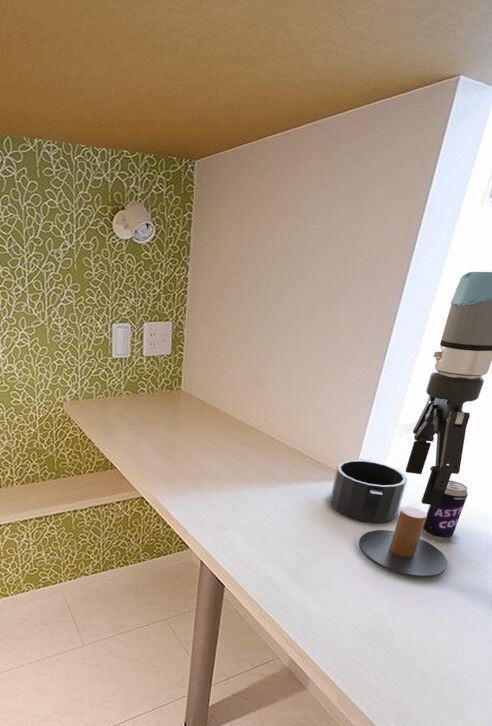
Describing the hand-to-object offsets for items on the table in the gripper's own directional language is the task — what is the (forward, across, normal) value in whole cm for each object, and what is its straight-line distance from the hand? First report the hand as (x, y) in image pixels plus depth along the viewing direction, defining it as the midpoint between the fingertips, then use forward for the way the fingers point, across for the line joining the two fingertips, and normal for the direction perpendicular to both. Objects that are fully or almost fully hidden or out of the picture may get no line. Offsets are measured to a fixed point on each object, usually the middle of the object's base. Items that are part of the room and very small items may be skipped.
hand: (421, 487), depth 81 cm
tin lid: (+15, 0, 0) cm, 15 cm away
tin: (+16, -19, -5) cm, 25 cm away
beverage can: (+16, -12, +9) cm, 22 cm away
